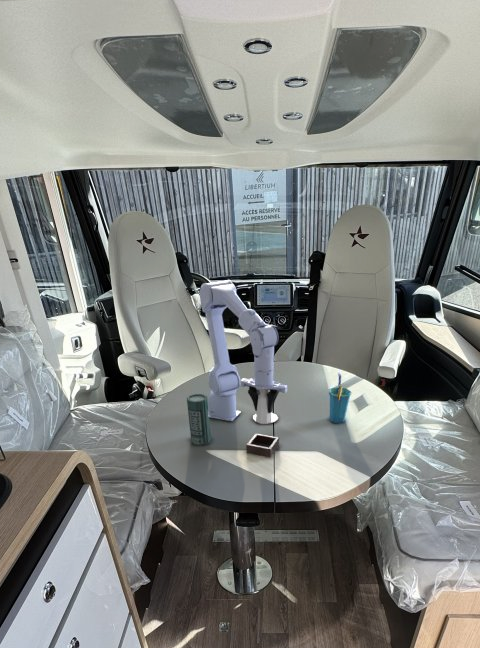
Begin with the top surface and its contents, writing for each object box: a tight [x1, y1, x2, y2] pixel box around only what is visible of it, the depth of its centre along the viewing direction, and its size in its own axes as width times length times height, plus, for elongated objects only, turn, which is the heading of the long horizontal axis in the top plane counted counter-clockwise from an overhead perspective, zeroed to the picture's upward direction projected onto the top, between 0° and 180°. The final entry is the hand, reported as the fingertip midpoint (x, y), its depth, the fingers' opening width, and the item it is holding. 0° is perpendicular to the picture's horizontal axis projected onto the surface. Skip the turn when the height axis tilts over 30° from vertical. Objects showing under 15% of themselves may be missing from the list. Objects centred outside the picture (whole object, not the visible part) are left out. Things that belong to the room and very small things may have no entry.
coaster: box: [252, 412, 279, 425], centre depth 158 cm, size 9×9×1 cm
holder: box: [245, 433, 280, 458], centre depth 139 cm, size 8×8×3 cm
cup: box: [328, 372, 352, 424], centre depth 154 cm, size 14×8×15 cm, turn 179°
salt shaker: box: [255, 389, 272, 425], centre depth 138 cm, size 5×5×11 cm
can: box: [186, 393, 212, 446], centre depth 140 cm, size 6×6×15 cm
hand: (263, 410), depth 139 cm, fingers closed on salt shaker, 4 cm apart
